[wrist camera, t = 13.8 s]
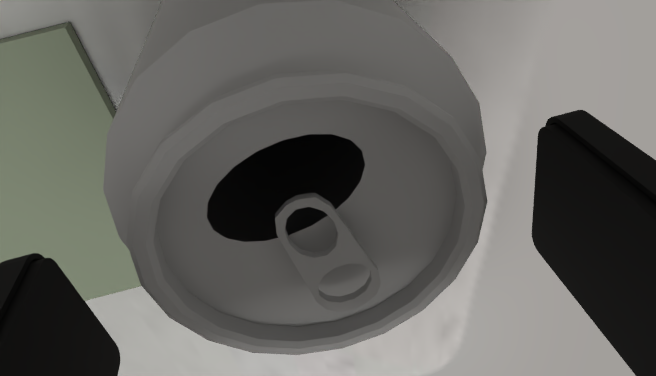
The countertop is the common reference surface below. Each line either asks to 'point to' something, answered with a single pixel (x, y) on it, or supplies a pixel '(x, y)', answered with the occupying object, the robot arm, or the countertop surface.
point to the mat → (58, 162)
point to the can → (294, 170)
